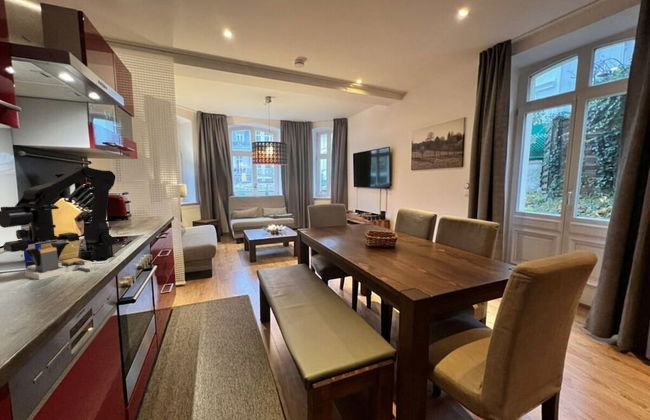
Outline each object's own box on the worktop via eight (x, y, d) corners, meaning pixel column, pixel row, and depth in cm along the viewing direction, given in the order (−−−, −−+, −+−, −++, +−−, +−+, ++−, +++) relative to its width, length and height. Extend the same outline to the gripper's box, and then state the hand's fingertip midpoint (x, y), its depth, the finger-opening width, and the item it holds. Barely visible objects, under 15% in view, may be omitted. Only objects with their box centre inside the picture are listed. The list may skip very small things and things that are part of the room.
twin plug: (76, 266, 109) (75, 257, 109) (95, 270, 105) (94, 261, 105) (62, 269, 105) (61, 260, 105) (81, 273, 101) (80, 264, 101)
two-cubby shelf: (78, 263, 112) (78, 258, 112) (92, 266, 109) (91, 261, 109) (25, 276, 97) (24, 271, 97) (39, 280, 94) (38, 274, 94)
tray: (57, 262, 113) (56, 259, 113) (69, 265, 110) (69, 262, 110) (27, 269, 105) (27, 266, 105) (40, 272, 102) (40, 269, 102)
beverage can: (46, 259, 117) (42, 225, 115) (32, 263, 112) (27, 228, 110) (35, 258, 118) (31, 225, 116) (21, 262, 113) (16, 227, 111)
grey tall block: (51, 266, 102) (49, 246, 101) (58, 268, 101) (56, 247, 100) (35, 270, 98) (33, 249, 97) (42, 272, 96) (40, 250, 95)
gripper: (61, 217, 109) (65, 254, 111) (-8, 225, 91) (-2, 269, 93) (78, 219, 105) (82, 257, 107) (9, 227, 87) (15, 273, 89)
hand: (46, 263), depth 99 cm, fingers open, 5 cm apart
